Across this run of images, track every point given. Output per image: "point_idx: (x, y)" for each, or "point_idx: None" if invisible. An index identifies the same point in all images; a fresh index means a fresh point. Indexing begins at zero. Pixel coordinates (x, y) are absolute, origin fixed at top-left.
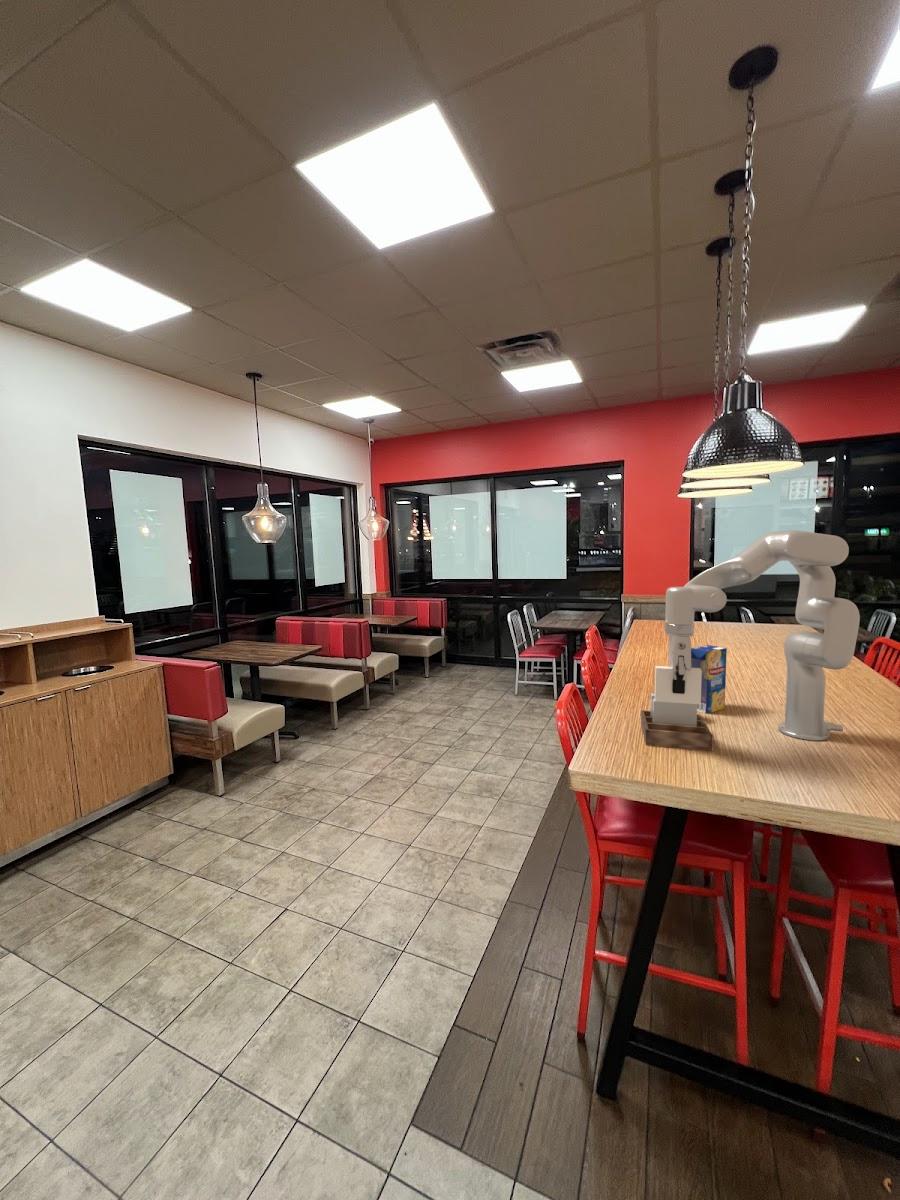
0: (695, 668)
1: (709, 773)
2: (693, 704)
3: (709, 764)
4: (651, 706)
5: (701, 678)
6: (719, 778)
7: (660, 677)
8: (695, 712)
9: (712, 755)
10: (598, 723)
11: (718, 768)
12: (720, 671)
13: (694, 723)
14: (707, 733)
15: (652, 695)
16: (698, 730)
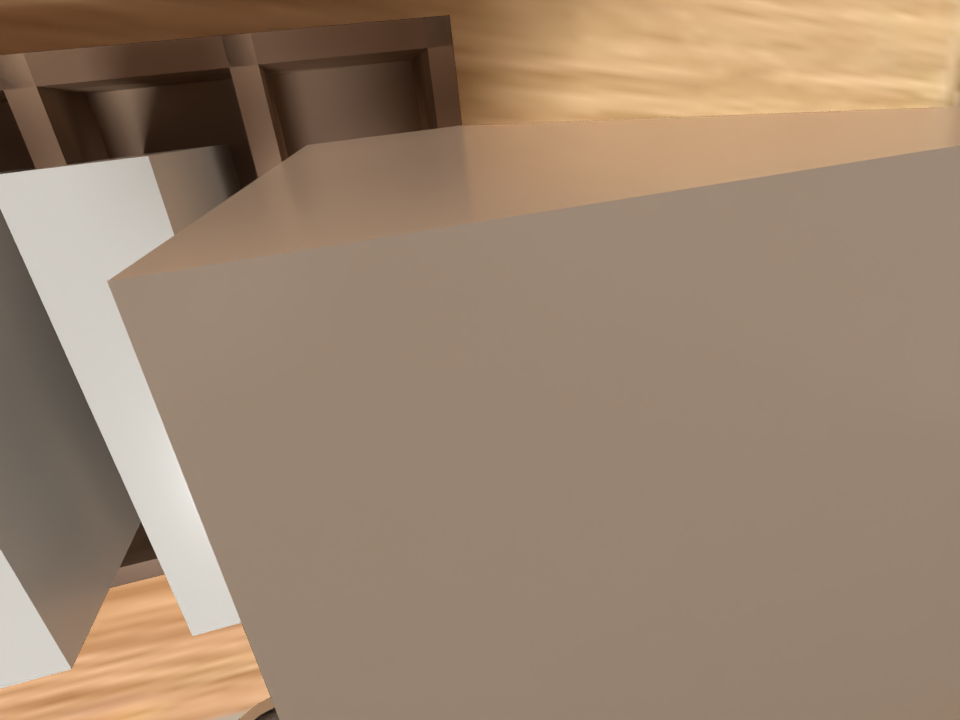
0: (594, 663)
1: (772, 99)
2: (165, 206)
3: (659, 86)
4: (107, 574)
5: (709, 118)
6: (822, 50)
7: None
8: (185, 168)
9: (511, 47)
10: (242, 704)
11: (703, 35)
12: None
13: (212, 167)
14: (363, 56)
15: (49, 667)
16: (276, 130)
